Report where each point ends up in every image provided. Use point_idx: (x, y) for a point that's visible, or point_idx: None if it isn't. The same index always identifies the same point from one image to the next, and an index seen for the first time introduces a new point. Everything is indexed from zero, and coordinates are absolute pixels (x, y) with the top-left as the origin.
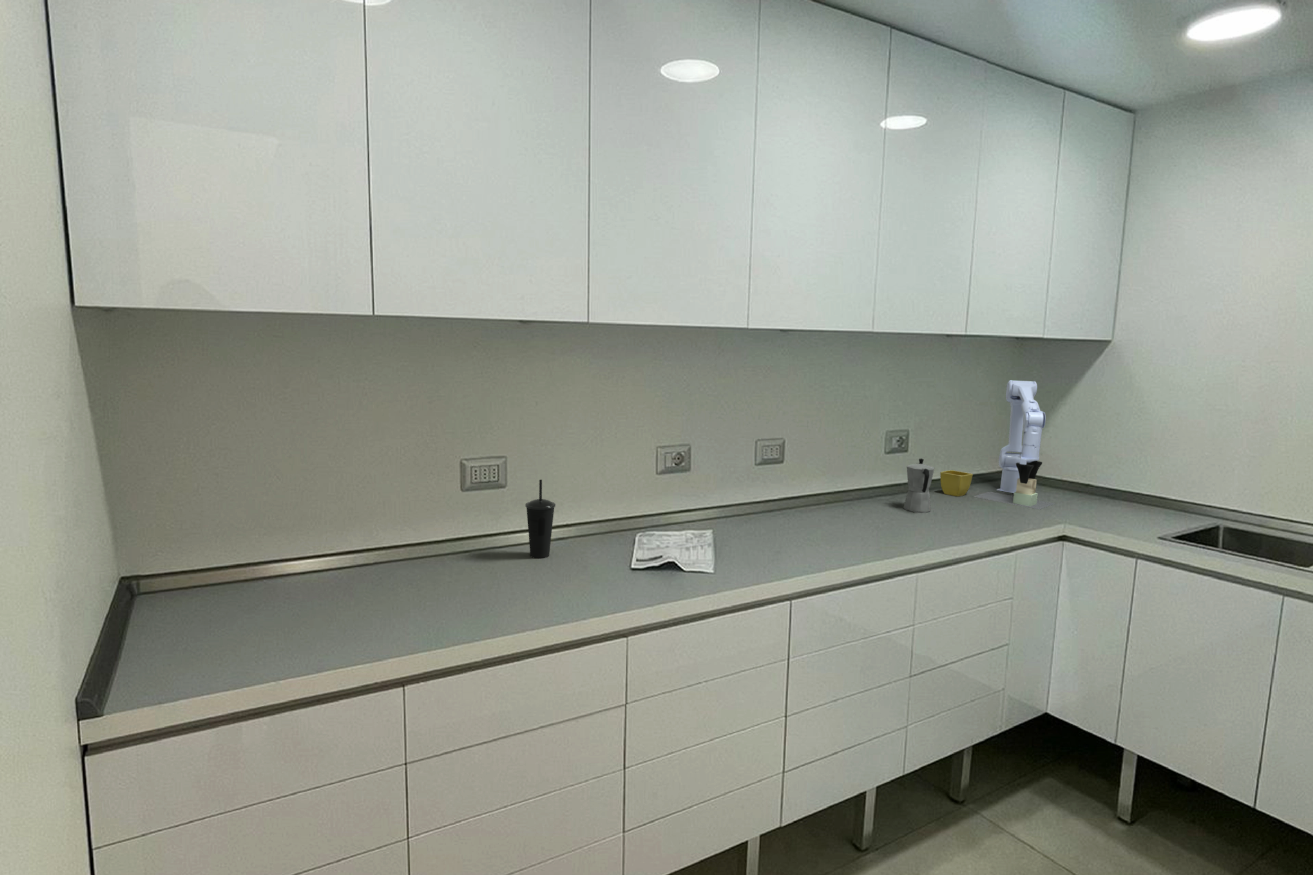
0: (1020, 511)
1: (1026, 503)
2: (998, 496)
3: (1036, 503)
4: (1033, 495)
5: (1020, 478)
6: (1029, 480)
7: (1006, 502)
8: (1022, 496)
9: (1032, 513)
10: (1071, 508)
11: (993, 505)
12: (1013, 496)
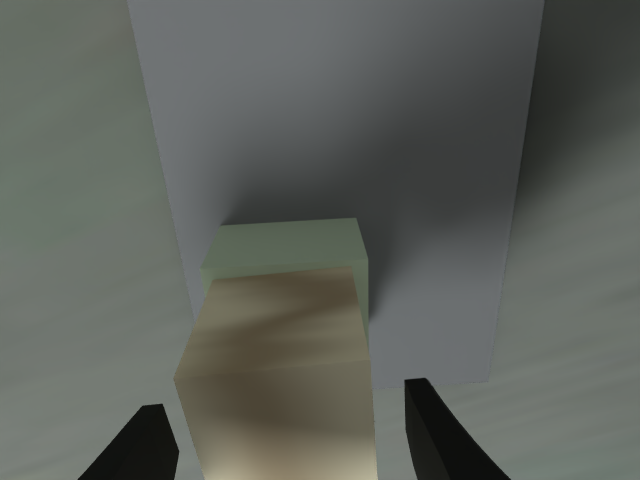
0: (72, 338)
1: None
2: (375, 12)
3: None
4: None
5: (109, 453)
6: (236, 476)
7: (187, 186)
8: None
9: (102, 393)
10: None
11: (31, 144)
12: (503, 104)
